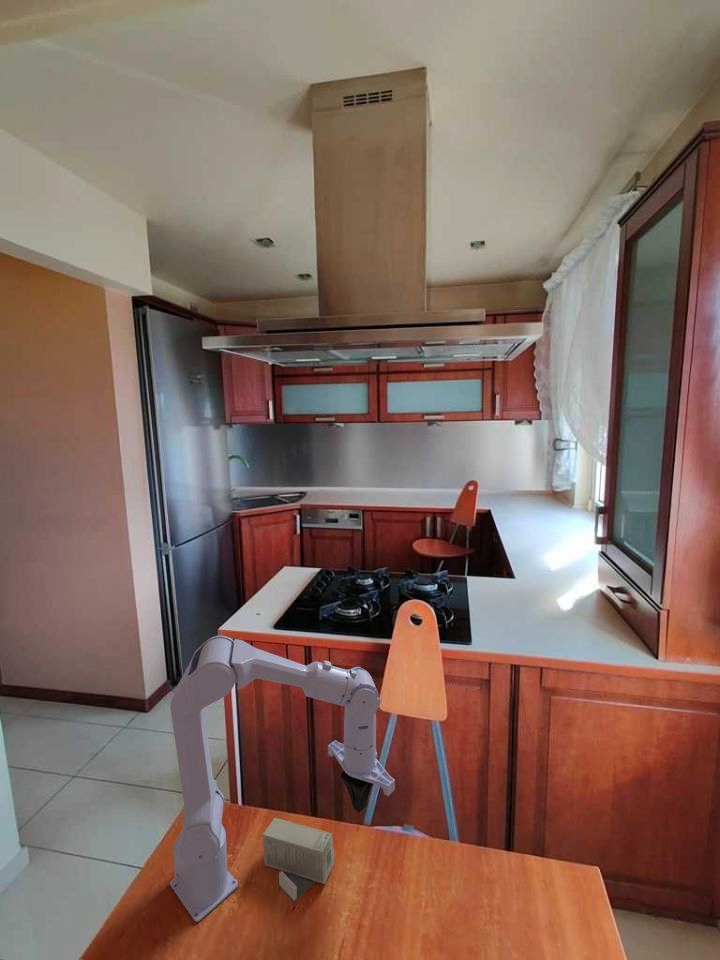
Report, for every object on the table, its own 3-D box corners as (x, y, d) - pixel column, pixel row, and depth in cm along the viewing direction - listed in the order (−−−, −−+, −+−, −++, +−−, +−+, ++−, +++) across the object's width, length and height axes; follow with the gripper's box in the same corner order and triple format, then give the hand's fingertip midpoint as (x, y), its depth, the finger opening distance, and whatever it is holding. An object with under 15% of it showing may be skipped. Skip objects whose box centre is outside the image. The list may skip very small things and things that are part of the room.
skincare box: (333, 832, 82) (275, 814, 86) (322, 853, 77) (262, 833, 82) (334, 865, 82) (276, 845, 86) (324, 887, 78) (263, 866, 82)
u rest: (279, 886, 79) (278, 873, 78) (319, 848, 86) (319, 836, 86) (294, 902, 76) (293, 889, 76) (334, 861, 83) (334, 849, 83)
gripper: (405, 746, 79) (404, 816, 81) (345, 711, 89) (346, 774, 90) (380, 769, 74) (379, 843, 76) (319, 729, 83) (320, 795, 85)
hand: (359, 807), depth 83 cm, fingers closed
